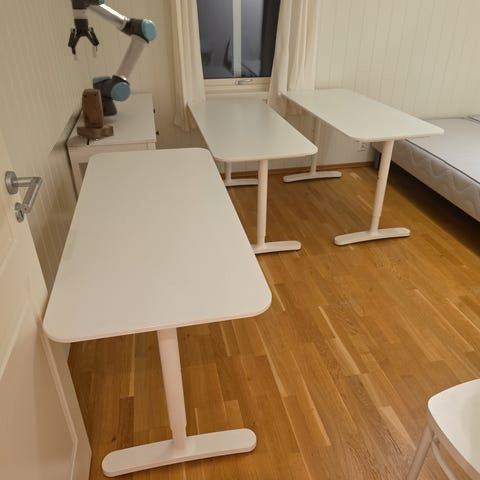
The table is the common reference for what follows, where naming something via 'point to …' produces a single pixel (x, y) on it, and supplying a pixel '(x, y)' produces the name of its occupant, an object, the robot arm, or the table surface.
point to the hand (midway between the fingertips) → (85, 59)
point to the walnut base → (95, 132)
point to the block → (92, 108)
